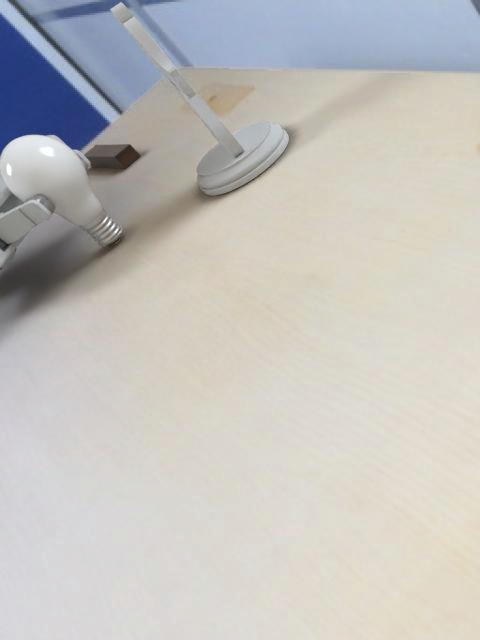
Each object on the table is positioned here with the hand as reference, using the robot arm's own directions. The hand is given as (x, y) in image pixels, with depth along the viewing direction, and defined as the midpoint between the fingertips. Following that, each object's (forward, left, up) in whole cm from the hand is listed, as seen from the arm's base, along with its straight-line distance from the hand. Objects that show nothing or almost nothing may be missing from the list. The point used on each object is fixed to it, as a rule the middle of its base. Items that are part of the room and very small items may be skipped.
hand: (64, 182), depth 68 cm
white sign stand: (+13, -4, -7) cm, 16 cm away
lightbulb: (-1, +1, -7) cm, 7 cm away
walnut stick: (+5, +26, -7) cm, 27 cm away
